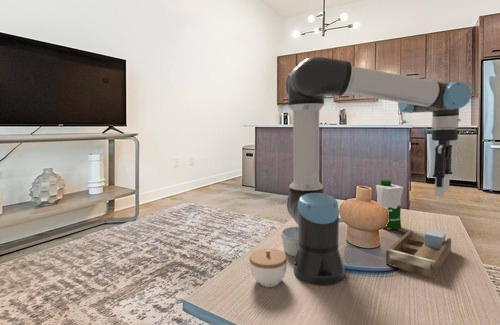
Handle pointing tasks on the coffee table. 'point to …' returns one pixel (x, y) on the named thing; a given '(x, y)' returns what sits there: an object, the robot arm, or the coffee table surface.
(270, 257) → the lidded jar
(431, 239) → the blue block
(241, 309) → the coffee table surface
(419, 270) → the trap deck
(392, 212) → the milk carton
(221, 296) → the coffee table surface
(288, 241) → the ramekin
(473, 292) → the coffee table surface
